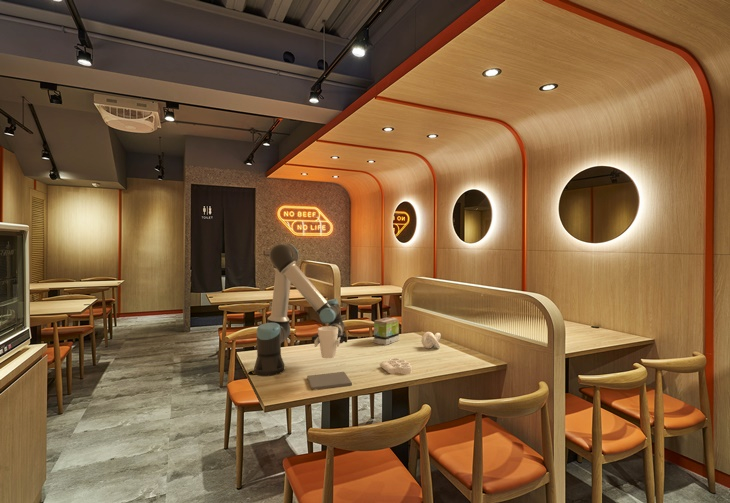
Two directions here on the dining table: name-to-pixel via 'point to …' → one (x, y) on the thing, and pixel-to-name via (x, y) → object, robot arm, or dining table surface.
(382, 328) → the tea box
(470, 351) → the dining table surface
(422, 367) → the dining table surface
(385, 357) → the dining table surface
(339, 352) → the dining table surface
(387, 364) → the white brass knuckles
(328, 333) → the foam cup
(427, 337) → the pretzel
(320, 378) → the tile
